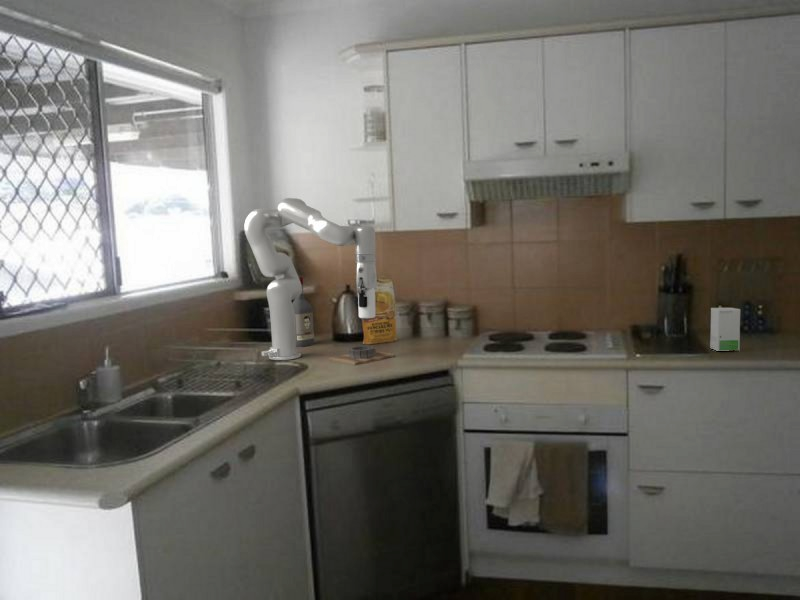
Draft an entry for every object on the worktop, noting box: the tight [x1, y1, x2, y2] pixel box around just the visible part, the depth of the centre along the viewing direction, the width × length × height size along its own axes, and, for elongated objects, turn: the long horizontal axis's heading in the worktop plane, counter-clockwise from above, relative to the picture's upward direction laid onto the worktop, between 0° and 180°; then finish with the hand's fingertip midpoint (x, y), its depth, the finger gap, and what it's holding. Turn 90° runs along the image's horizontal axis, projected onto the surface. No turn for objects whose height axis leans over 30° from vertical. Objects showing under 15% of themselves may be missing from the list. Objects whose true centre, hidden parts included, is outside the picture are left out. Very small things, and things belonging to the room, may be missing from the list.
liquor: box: [292, 276, 315, 348], centre depth 298 cm, size 9×9×30 cm
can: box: [357, 286, 375, 319], centre depth 259 cm, size 6×6×12 cm
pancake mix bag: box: [355, 277, 398, 345], centre depth 296 cm, size 7×19×28 cm, turn 116°
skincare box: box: [709, 307, 741, 352], centre depth 248 cm, size 8×7×16 cm
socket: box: [328, 345, 396, 366], centre depth 264 cm, size 20×16×4 cm
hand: (366, 305), depth 259 cm, fingers closed on can, 6 cm apart
